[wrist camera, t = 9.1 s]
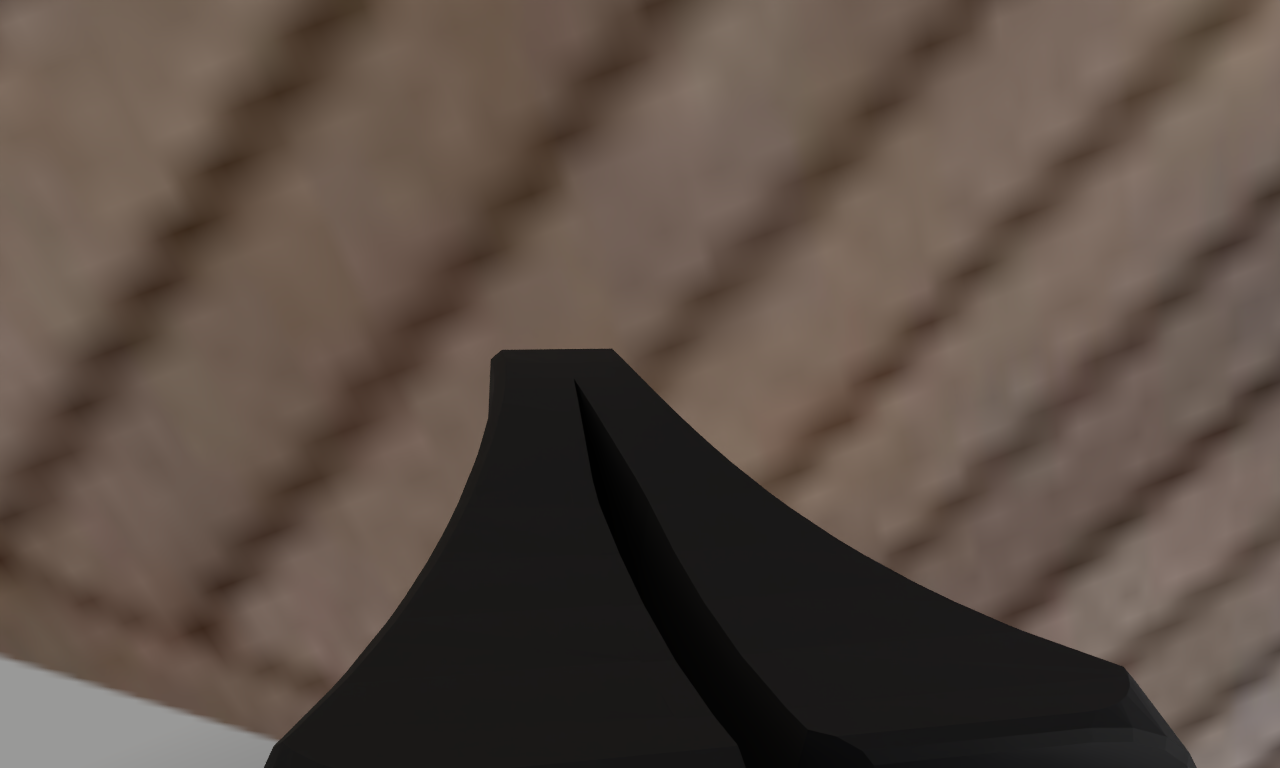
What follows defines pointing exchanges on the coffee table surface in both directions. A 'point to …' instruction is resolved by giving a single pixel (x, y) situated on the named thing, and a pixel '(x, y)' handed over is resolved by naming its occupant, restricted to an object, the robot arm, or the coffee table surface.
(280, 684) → the coffee table surface
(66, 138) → the coffee table surface
